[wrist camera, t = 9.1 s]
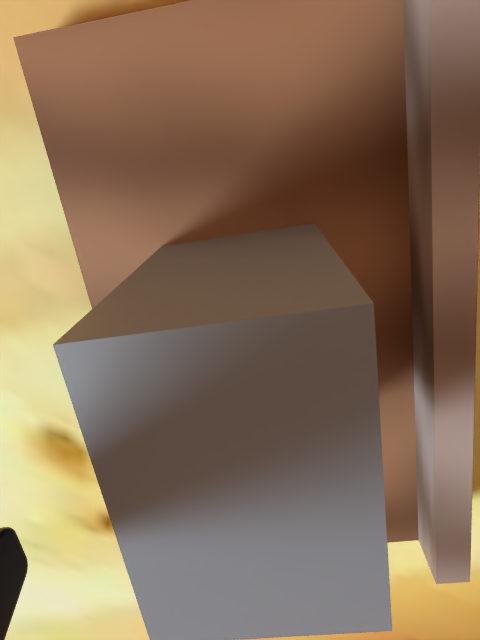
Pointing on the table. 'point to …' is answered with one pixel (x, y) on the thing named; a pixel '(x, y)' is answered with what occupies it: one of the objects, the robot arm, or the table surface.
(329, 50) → the shelf board
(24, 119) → the table surface
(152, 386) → the carton
